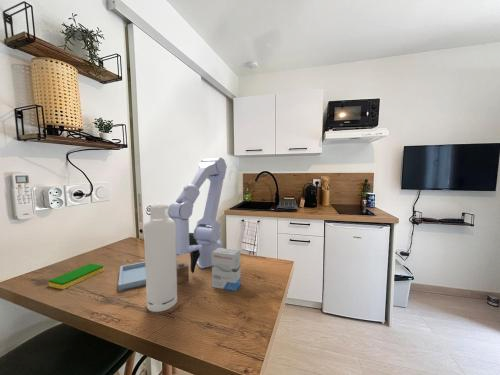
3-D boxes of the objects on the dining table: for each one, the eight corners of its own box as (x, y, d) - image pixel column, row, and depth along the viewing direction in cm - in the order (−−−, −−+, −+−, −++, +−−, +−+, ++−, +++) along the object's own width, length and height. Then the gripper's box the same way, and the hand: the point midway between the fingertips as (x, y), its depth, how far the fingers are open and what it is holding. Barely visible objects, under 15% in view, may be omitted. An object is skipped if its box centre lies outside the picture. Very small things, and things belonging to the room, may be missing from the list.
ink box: (241, 284, 70) (241, 249, 69) (235, 291, 65) (235, 255, 64) (218, 280, 72) (218, 246, 72) (211, 287, 68) (210, 252, 67)
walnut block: (186, 275, 76) (185, 261, 76) (188, 280, 72) (188, 266, 72) (174, 278, 74) (174, 264, 74) (176, 283, 70) (176, 268, 70)
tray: (160, 263, 86) (160, 258, 86) (165, 280, 72) (165, 274, 72) (120, 271, 79) (120, 266, 79) (118, 291, 65) (118, 285, 65)
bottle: (153, 295, 63) (150, 204, 62) (180, 293, 64) (178, 203, 62) (141, 312, 55) (137, 208, 54) (172, 310, 56) (169, 208, 54)
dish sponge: (104, 271, 80) (104, 265, 80) (63, 290, 67) (62, 283, 67) (90, 269, 82) (90, 263, 82) (48, 287, 69) (47, 280, 69)
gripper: (159, 243, 65) (160, 285, 66) (204, 236, 72) (205, 274, 73) (156, 237, 71) (158, 275, 72) (198, 231, 78) (199, 266, 79)
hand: (181, 274), depth 73 cm, fingers open, 7 cm apart
